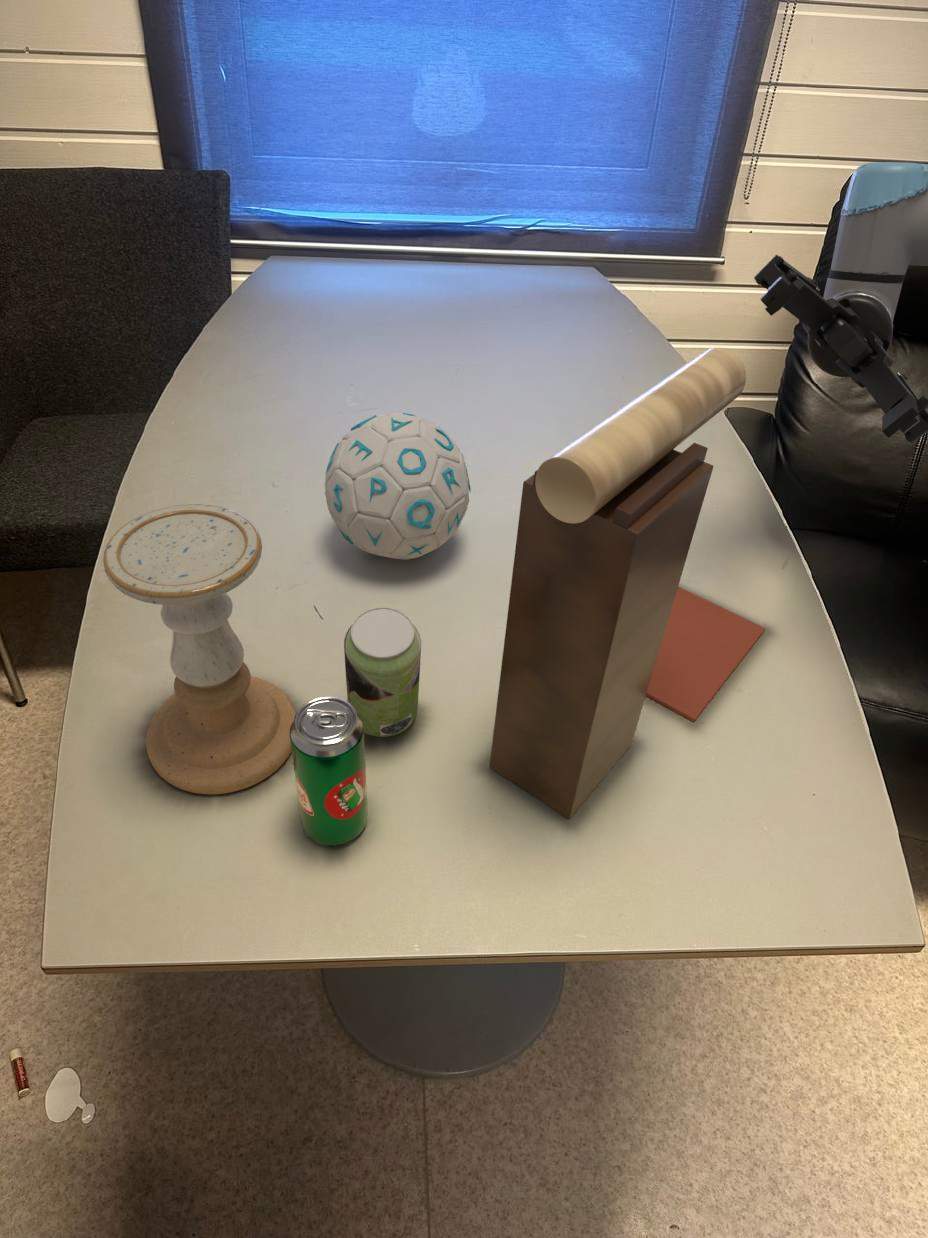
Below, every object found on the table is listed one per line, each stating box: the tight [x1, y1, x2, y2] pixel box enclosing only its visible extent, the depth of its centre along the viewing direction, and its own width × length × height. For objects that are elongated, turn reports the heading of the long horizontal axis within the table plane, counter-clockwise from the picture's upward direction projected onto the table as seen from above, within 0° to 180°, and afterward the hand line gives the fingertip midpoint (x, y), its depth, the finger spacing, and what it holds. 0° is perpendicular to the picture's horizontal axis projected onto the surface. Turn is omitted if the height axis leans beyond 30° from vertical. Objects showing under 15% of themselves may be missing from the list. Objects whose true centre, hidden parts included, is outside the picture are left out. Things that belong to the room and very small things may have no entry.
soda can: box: [290, 696, 369, 846], centre depth 60 cm, size 5×5×12 cm
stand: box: [489, 442, 714, 820], centre depth 60 cm, size 8×10×29 cm
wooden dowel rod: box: [535, 347, 747, 523], centre depth 52 cm, size 20×4×4 cm, turn 142°
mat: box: [646, 586, 766, 723], centre depth 81 cm, size 12×16×1 cm
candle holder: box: [102, 503, 297, 795], centre depth 63 cm, size 12×12×20 cm
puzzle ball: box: [324, 412, 472, 561], centre depth 86 cm, size 15×15×15 cm
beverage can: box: [343, 606, 422, 738], centre depth 68 cm, size 6×7×12 cm
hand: (840, 360), depth 66 cm, fingers open, 13 cm apart
